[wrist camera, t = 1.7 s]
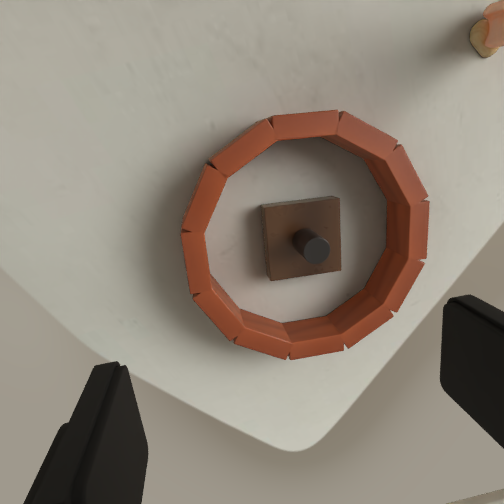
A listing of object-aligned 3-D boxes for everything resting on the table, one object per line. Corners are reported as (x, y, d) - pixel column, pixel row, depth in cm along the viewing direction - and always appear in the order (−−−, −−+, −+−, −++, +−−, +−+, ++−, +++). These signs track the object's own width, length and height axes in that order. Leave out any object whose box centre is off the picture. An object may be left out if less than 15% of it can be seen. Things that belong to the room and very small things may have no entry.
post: (266, 275, 30) (279, 296, 26) (260, 204, 28) (272, 214, 24) (334, 264, 31) (357, 284, 26) (332, 195, 29) (356, 203, 25)
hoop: (202, 352, 31) (203, 376, 28) (166, 128, 25) (162, 125, 22) (400, 318, 33) (422, 336, 30) (407, 106, 28) (435, 100, 25)
